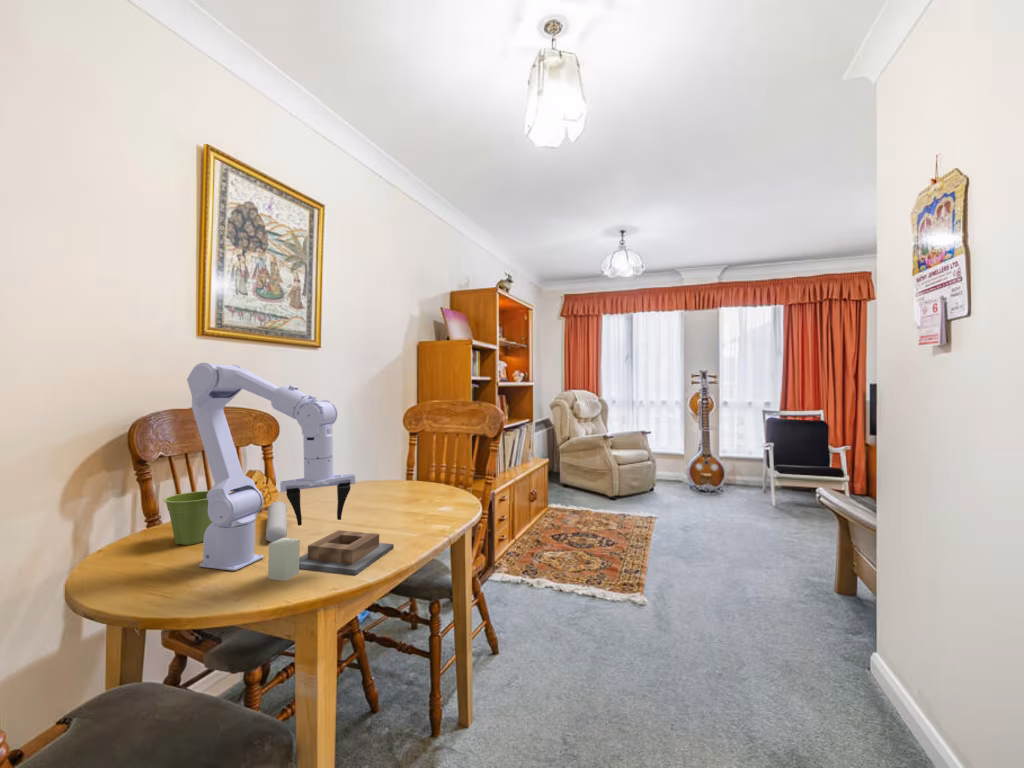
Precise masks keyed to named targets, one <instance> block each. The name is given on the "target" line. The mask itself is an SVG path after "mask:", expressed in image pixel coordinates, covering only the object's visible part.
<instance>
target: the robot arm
mask: <svg viewBox="0 0 1024 768" xmlns="http://www.w3.org/2000/svg"><path fill="white" fill-rule="evenodd" d="M186 381H187V384H188V387H189V391H190V393H191V409H192V412H193V417H194V419H195V422H196V426H197V429H198V433H199V435H200V439H201V443H202V446H203V449H204V452H205V456H206V458H207V459H206V460H207V461H208V465H209V469H210V472H211V475H212V479H213V481H214V483H213V485H212V487H211V488H210V489H209V490H208V491H209V492H208V493H207V499H208V516H209V518H210V520H211V521H212V522H213V523H211V524H210V525H209V526H208V527H207V529H206V531H205V533H204V541H202V542H203V547H202V548H203V549H202V551H203V553H202V563H200V564H199V566H198V567H201V568H207V569H217V570H223V571H224V570H226V571H233V572H234V571H239V570H240V569H242V568H245V567H247V566H249V565H251V564H253V563H255V562H258V561H259V560H262V559H263V558H264V557H265V556H264V555H263V554H256V553H255V543H256V519H257V518H258V513H259V512H260V511H261V510H262V509H263V506H264V496H263V493H262V492H261V491H260V490H259V489H258V487H257V486H256V484H255V481H254V480H253V479H252V478H251V477H249V476H247V475H245V474H244V472H243V469H242V466H241V462H240V459H239V456H238V453H237V449H236V446H235V443H234V441H233V436H232V434H231V429H230V427H229V424H228V423H229V422H228V421H227V417H226V414H225V411H224V409H225V407H226V405H227V404H229V403H230V402H231V401H232V400H233V399H234V398H236V396H237V395H238V394H240V392H241V391H242V390H244V391H247V392H249V393H251V394H254V395H256V396H259V397H261V398H263V399H266V400H268V401H270V405H271V407H272V408H273V410H276V411H277V412H280V413H282V414H283V415H286V416H288V417H290V418H292V419H294V420H296V421H297V424H298V425H299V426H300V428H301V435H302V436H303V437H302V439H303V477H302V478H294V479H289V480H288V479H287V480H281V481H280V483H279V484H280V491H279V492H280V493H285V492H286V498H287V499H288V501H289V504H290V505H291V507H292V509H293V512H294V513H295V516H296V523H297V526H302V525H303V524H302V523H303V522H302V521H303V519H302V511H301V510H302V509H301V490H306V489H316V488H323V487H325V488H326V487H335V486H336V490H337V491H336V492H337V493H336V494H337V495H336V496H337V505H336V507H337V509H336V519H337V521H341V520H342V515H343V510H344V506H345V503H346V500H347V498H348V495H349V493H350V491H351V485H356V474H355V473H349V474H348V473H347V474H334V453H333V452H334V447H333V446H334V445H333V441H334V440H333V438H334V437H333V436H334V435H333V425H334V424H335V422H336V421H337V418H338V409H337V407H336V406H335V405H334V404H333V403H331V401H330V400H325V399H324V400H320V401H318V399H317V396H315V395H314V394H310V395H309V394H306V393H304V392H303V391H301V390H299V387H298V386H296V385H295V384H294V385H292V384H291V385H282V386H281V387H279V386H278V385H276V384H274V383H272V382H270V381H268V380H266V379H264V377H261V376H260V375H258V374H256V373H254V372H252V371H251V370H250V369H248V368H245V367H242V366H241V365H236V364H232V365H229V364H228V365H227V364H217V363H216V364H215V363H209V362H200V363H198V364H196V365H195V366H194V367H192V370H191V372H190V373H189V374H188V377H187V378H186ZM230 492H231V493H230Z"/></svg>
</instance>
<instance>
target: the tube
mask: <svg viewBox="0 0 1024 768" xmlns="http://www.w3.org/2000/svg"><path fill="white" fill-rule="evenodd" d="M287 512H288V505H287V504H286V503H285V502H282V501H273V502H271V503H270V505H269V506H268V508H267V519H266V520H267V521H266V529H265V530H266V531H265V540H266V541H268V542H269V543H272V542H274V541H277V540H279V539H281V538H287V537H288V536H287V535H288V522H287V521H288V520H287V519H288V517H287Z"/></svg>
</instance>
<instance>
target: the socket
mask: <svg viewBox="0 0 1024 768" xmlns="http://www.w3.org/2000/svg"><path fill="white" fill-rule="evenodd" d="M394 545H395V544H394V543H386V542H380V534H379V533H371V532H370V533H369V532H362V531H361V532H360V531H352V530H351V531H350V530H349V531H348V530H339V529H338V530H336V531H334V532H332V533H331V534H328V535H326V536H325V537H322V538H320V539H318V540H316V541H314V542H312V543H310V544H308V545H307V553H305V554H303V555H301V556H299V569H302V570H310V571H311V570H312V571H320V572H328V573H336V574H346V575H354V576H356V575H358V574H359V573H361V572H362V571H364V570H365V569H367V568H368V567H370V566H371V565H373V563H375V562H377V561H378V560H379V559H381V558H382V557H383V556H385V555H387V554H388V553H389V552H390V550H391V551H393V550H394V549H395V546H394Z"/></svg>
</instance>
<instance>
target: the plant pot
mask: <svg viewBox="0 0 1024 768" xmlns="http://www.w3.org/2000/svg"><path fill="white" fill-rule="evenodd" d="M209 491H210V490H202V491H190V492H185V493H179V494H178V493H177V494H174V495H171V496H168V497H167V496H166V497H165V498H164V499H163V502H164V503H165V504H166V508H167V511H168V513H169V517H170V523H171V529H172V533H173V539H174V543H175V544H176V545H183V546H190V545H196V544H200V543H202V542H203V541H204V533H205V531H206V529H207V527H208V526H209V525H210V524H211V523H213V522H212V521H211V520H210V518H209V516H208V499H207V493H208V492H209Z"/></svg>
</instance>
